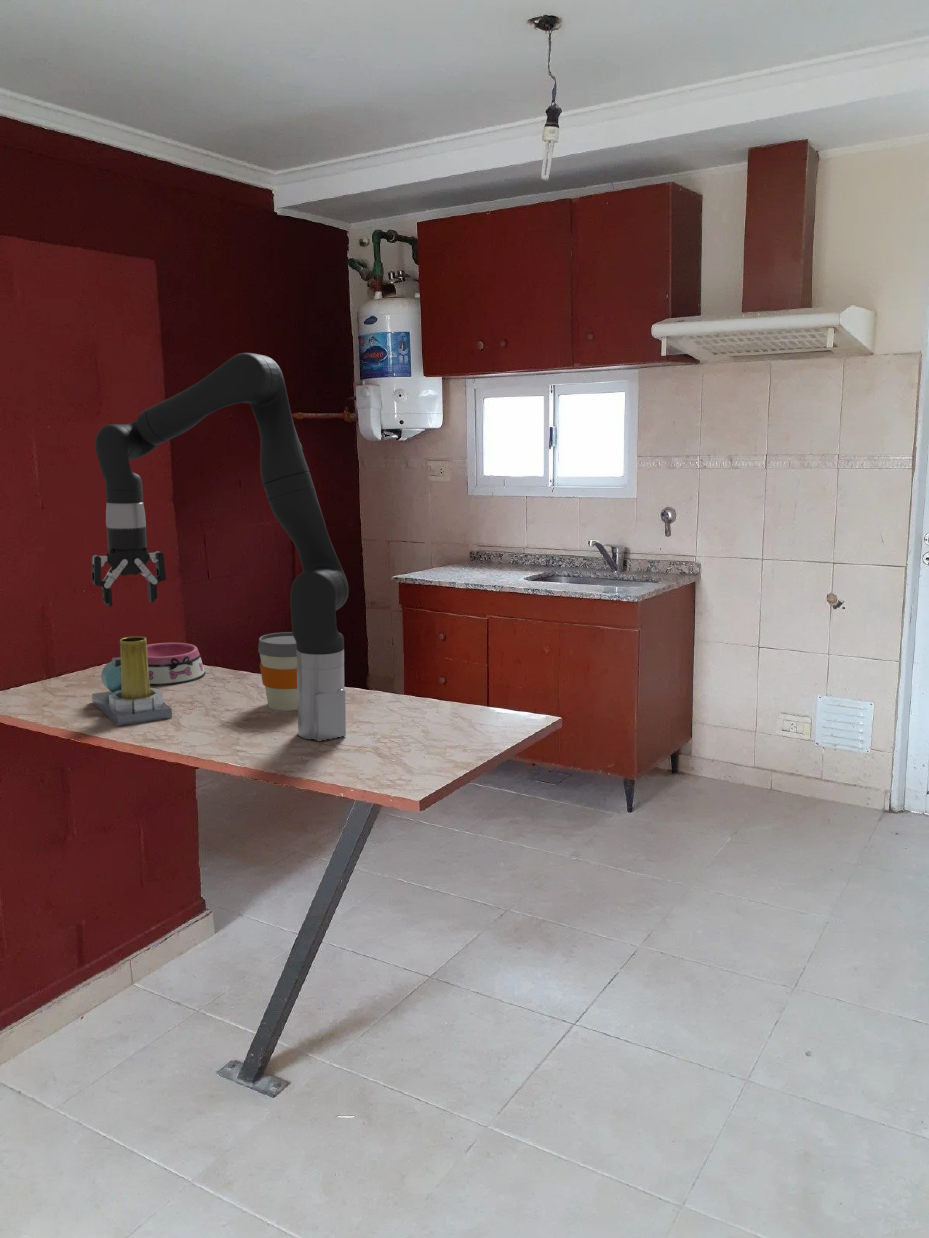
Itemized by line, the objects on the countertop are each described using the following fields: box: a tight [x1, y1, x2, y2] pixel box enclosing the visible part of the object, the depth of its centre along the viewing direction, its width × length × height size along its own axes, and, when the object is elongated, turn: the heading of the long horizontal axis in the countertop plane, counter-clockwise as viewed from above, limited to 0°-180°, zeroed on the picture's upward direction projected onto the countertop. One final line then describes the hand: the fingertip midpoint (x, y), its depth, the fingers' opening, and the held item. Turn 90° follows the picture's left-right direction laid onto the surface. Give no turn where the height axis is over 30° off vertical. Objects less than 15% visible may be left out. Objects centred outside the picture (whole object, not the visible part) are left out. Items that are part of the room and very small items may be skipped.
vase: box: [119, 636, 151, 699], centre depth 200 cm, size 6×6×14 cm
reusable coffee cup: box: [257, 631, 298, 712], centre depth 209 cm, size 13×13×15 cm
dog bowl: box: [147, 642, 206, 687], centre depth 233 cm, size 18×19×7 cm
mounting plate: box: [91, 656, 173, 727], centre depth 204 cm, size 20×11×10 cm, turn 35°
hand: (130, 603), depth 197 cm, fingers open, 8 cm apart
